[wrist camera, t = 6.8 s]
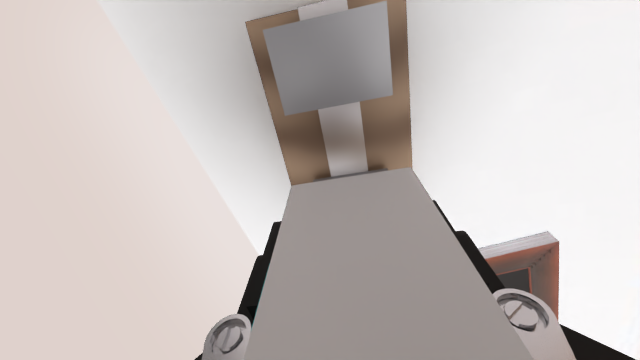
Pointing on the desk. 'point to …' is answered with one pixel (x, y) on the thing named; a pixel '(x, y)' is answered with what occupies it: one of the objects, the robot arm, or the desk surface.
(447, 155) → the desk surface
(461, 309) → the block
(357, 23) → the mounted modules
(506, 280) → the picture frame
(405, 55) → the rail board
